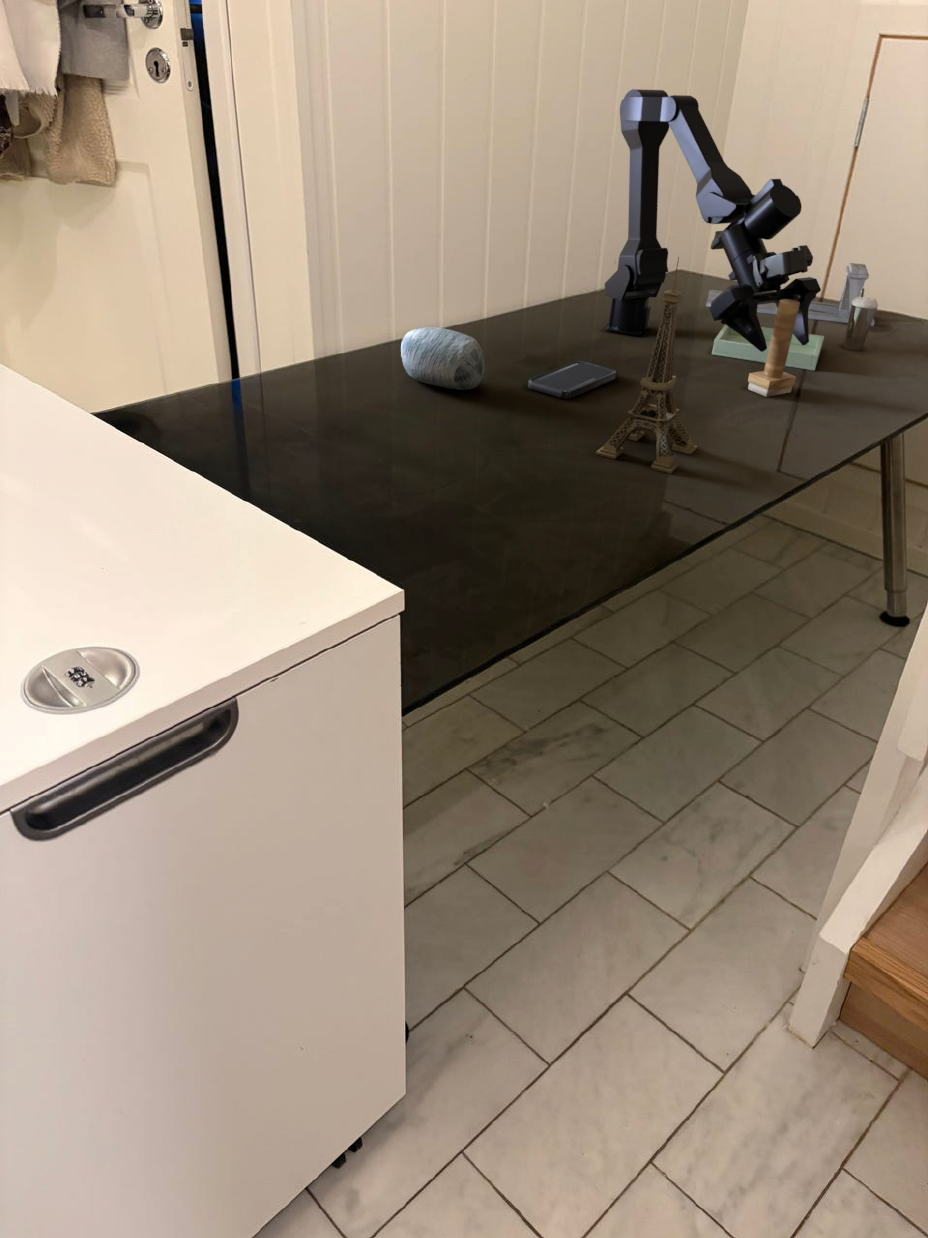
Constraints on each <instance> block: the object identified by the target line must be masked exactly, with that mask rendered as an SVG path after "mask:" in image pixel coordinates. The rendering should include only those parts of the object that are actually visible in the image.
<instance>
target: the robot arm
mask: <svg viewBox="0 0 928 1238" xmlns="http://www.w3.org/2000/svg"><path fill="white" fill-rule="evenodd" d="M699 106H700V105H699V102H698V100H697V98H695V97H694V96H692V95H683V94H682V95H681V94H680V95H675V94H673V95H668V93H667V92H666V91H665V90H664V89H634V88H632V89H631V90H629V91H627V93H626V94H625V96H624V97H623V99H621V101H620V105H619V116H620V117H619V118H620V119H619V120H620V131H621V135H622V136H623V139H624V140H625V142H626V144H627V147H628V148H629V176H628V177H629V178H628V179H629V184H628V223H627V224H628V226H627V227H628V228H627V231H628V232H627V235H628V236H627V239H626V242H625V243H624V246H623V248H622V250H621V252H620V253H619V255H618V263H617V270H615V272H614V273H612V275H611V276H610V277H609V278H608V279H607V280H606V281H605V282H604V293H605V296H607V297H609V298H611V303H610V312H609V319H608V325H607V326H606V327H605V332H610V333H616V334H621V335H622V334H623V335H629V336H634V337H635V336H636V337H639V336H641V335H642V334H643V333H644V332H645V331H646V330H647V329H648V327H649V322H650V321H649V320H650V314H651V308H652V307H651V305H649V302H650V301H649V300H650V298H657V296H658V295H659V291H660V290H661V287H662V285H663V284H664V283H665V280H666V276H667V273H669V267H668V259H669V249H668V247H662V246H661V244H660V241H659V240H658V206H659V205H658V202H659V176H660V175H659V172H660V171H659V170H660V149H661V145H662V143H663V142H664V140H665V138H666V136H667V135H668V133H669V130H670V129H671V132H672V133H673V136H674V138H675V140H676V143H677V144H678V146H679V148H680V150H681V152H682V154H683V157H684V158H685V161H686V162H687V165H688V167H689V168H690V169H689V170H690V171H691V173H692V175H693V177H694V179H695V182H696V192H695V199H696V203H697V206H698V209H699V213H700V216H701V218H702V220H703V222H705V223H707V224H709V225H723V224H728V225H727V226H726V227H725V228H724V229H723V230H716V231H715V232H714V237H713V239H712V241H711V245H710V249H711V250H712V251H713V250H723V251H724V253H725V255H726V258H727V261H728V263H729V266H730V268H731V270H732V271H731V272H730V273H729V274H728V276H727V277H728V279H729V281H730V282H734V281H736V282H737V284H735V285H728V286H727V287H726V288H725V289H724V290H722V291H723V292H722V293H721V294H720V295H719V296H718V297H716V298H715V299H714V300H713V301H712V302H711V307H709V312H710V314H711V317H712V319H713V321H714V322H716V321H720V323H721V325H725V324H726V325H727V326H729V327H730V328H731V329H733V330H734V331H736V332H737V333H738V334H740V335H741V336H742V337H744V338H745V339H746V340H747V341H749V342H750V343H751V344H752V345H753V346H755V347H756V348H757V349H758V350H759V351H761V352H764V351H765V350H766V349H767V345H766V341H765V337H764V334H763V331H762V329H761V327H762V326H761V323H760V320H759V318H758V312H757V307H758V305H760V304H768V303H775V304H776V306H777V308H778V306H779V301H780V300H782V299H790V300H795V301H798V302H800V305H799V309H798V313H797V318H796V322H795V326H794V330H793V334H794V336H795V337H796V338H797V340H798V341H799V342H800V343H801V344H802V345H806V344H807V343H808V342H809V334H810V333H809V332H810V331H809V328H810V327H809V318H808V310H809V306H810V303H811V301H814V300H815V299H816V298H817V294H818V293H820V292H821V290H822V288H821V286H820V284H819V282H818V279H817V278H815V277H811V276H808V277H798V278H795V279H793V280H791V279H790V277H789V276H793V275H796V274H799V273H801V274H805V273H807V272H809V269H808V267H811V266H812V264H813V261H814V256H813V254H812V252H811V250H810V248H809V246H808V245H807V244H805V245H798V246H797V247H792V248H791V250H788V251H783V252H780V253H776V252H775V251H768V250H767V247H766V245H765V243H764V241H763V240H767V241H769V240H770V241H771V239H774V238H775V237H776V236H777V235H778V234H779V233H780V232H781V231H783V230H784V229H785V228H786V227H787V226H788V225H789V224H790V223H791V222H793V221H794V220H795V219H796V218H797V217H798V216H799V215H800V214H801V212H802V202H801V198H800V197H799V196H798V194H796V193H795V192H794V191H793V190H792V189H791V188H790V187H789V186H787V185H785V184H783V181H782V179H781V178H770V179H769V180H768V181H767V182H766V183H765V184H764V185H763V187H762V188H761V189H760V190H759V191H758V192H757V193H756V194H753V192H752V191H751V188H750V187H749V186H748V185H747V183H746V182H745V180H744V179H743V178H742V176H741V175H740V174H739V173H737V172H736V171H735V170H733V169H731V168H730V167H729V166H728V165H727V163H726V162H725V160H724V158H723V156H722V154H721V152H720V150H719V148H718V146H717V144H716V142H715V140H714V138H713V136H712V134H711V132H710V130H709V128H708V126H707V123H706V122H705V120H704V117H703V116H702V114H701V112H700V110H699V109H700V108H699ZM790 280H791V282H790V283H789V284H787V285H785V284H786V283H788V282H789V281H790ZM782 285H785V287H783V288H782Z"/></svg>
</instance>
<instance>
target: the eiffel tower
mask: <svg viewBox="0 0 928 1238" xmlns="http://www.w3.org/2000/svg"><path fill="white" fill-rule="evenodd" d="M679 260H680V256H677V263H676V268H675V273H674V277H673V282H672V286H671V289H668V290H666V291H663V296H662V297H661V298H660V301H661V302H663V303H664V306H663V311H662V314H661V319H660V323H659V326H658V330H657V334H656V338H655V342H654V346H653V349H652V355H651V358H650V360H649V364H648V370H647V372H646V376H645V377H642V378H641V380H640V382H639V385H641V391H640V392H639V395H638V397H637V399H636V402H635V404H634V405H633V407H632V409H630V410H629V411H628V410H627V416H628V417H627V418H626V419H625V420H624V421H623V423H621V425H620V426H619V427H618V428H617V430H615V432H614V433H613V434H612V435H611V436H610V438H609V439H608V440H607V441H606V442H605V444H604V445H602V446H601V447H600V448H599V449H597V450H596V451H595V453H594V454H595V455H597V456H601V457H605V458H609V459H611V460H615V459H617V458H618V457H619V456H621V454H623V452H624V448H623V447H622V446H623V445H624V444H625V442H627V440H631V441H635V442H637V441H638V440H640V439H641V438H643V436H645V432H644V431H643V430H645V431H648V432H650V433H651V434H652V435H654V437H655V439H656V440H655V442H656V443H655V460H654V461H653V462H652V464H651V466H650V469H651V470H655V471H659V472H663V473H667V474H671V475H672V474H673V472H675V471H676V469H678V468H679V463H676V460H675V456H674V453H673V451H675V452H679V453H683V454H687V455H692V454H693V453H694V452H696V450H698V447H699V445H696V444H694V443H693V441H692V438H691V436H690V434H689V433H688V431H687V429H686V427H685V425H684V424H683V423H682V421H681V419H680V417H679V416H678V413H679V411H680V408H677V407H676V403H675V398H674V386H675V385H676V384H677V381H678V380H677V376H676V375H673V369H674V353H675V341H676V339H675V338H676V323H677V311H678V309H677V307H678V304H679V303H680V302H682V301H683V300H684V298H683V297H682V295H681V294H683V291H679V290H676V285H677V277H678V267H679V266H678V265H679ZM654 396H656V404H651V402H652V401H653V398H654ZM667 433H669V436H670V437H671V439H672V441H673V444H672V445H671V446H670V443H669V441H668V439H667Z"/></svg>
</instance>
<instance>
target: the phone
mask: <svg viewBox="0 0 928 1238" xmlns="http://www.w3.org/2000/svg"><path fill="white" fill-rule="evenodd" d="M616 376H617V370H615V369H612V368H609V367H606V366H602V365H598V364H594V363H591V362H587V361H583V360H574V361H573V362H570V363H568V364H564V365H562V366H560V367H557V368H554V369H551V370H549V371H547V372H544V373H541V374H539V375H536V376H534V377H531V378H529V379H528V383H527V387H528V389H530V390H533V391H536V392H539V393H543V394H546V395H550V396H553V397H557V398H560V399H564V400H566V399H567V400H568V399H572V398H575V397H577V396H579V395H582V394H584V393H586V392H588V391H589V392H590V390H593V389H595V388H598V387H600V386H602V385H605V384H607V383H609V382H612V381H614V380H616V378H617V377H616Z"/></svg>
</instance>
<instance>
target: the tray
mask: <svg viewBox="0 0 928 1238" xmlns="http://www.w3.org/2000/svg"><path fill="white" fill-rule="evenodd" d="M773 328H774V327H767V326H766V327H765V326H761V329H762V331H763V334H764V337H765V341H766V345H767V349H766V350H765V351H764V352H761V351H759V350H758V349H757V348H756V347H755V346H753V345H752V344H751V343H750V342H749V341H747V340H746V339H745V338H744V337H742V336H741V335H740V334H738V333H737V332H736V331H734V330H733V329H731V328H730V327H729V326H727V325H726V324H723V326H722V328H721V329H720V331H719V332H718V334H717V335H716V337H715V338H714V341H713V345H712V351H711V355H712V356H713V355H714V356H721V357H726V358H733V359H738V360H746V361H752V362H757V363H764V364H766V359H767V355H768V350H769V346H770V341H771V337H772V332H773ZM824 340H825V336H824V335H820V334H813V333H809V342H808V343H807V344H806V345H802V344H801V343H800V342H799V341H798V340H797V338H796V337H795V336H794V334H793V335H792V339H791V343H790V347H789V352H788V356H787V360H786V364H785V367H790V368H795V369H802V370H808V371H815V370H816V367H817V364H818V361H819V357H820V354H821V351H822V347H823V344H824Z"/></svg>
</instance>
